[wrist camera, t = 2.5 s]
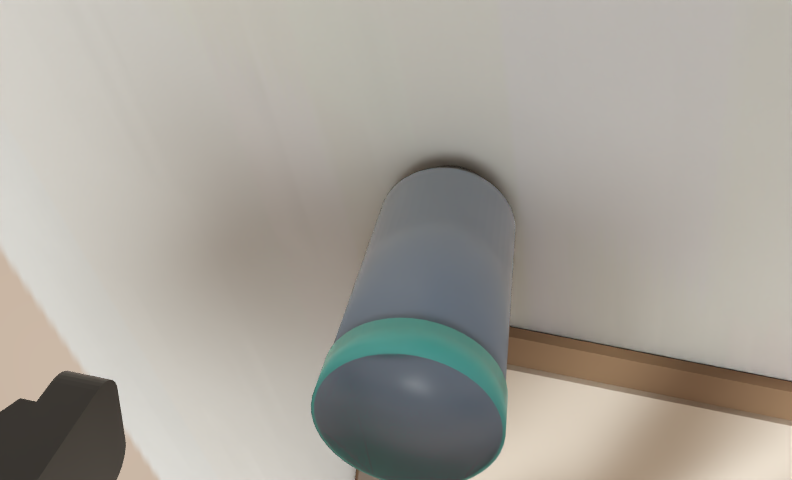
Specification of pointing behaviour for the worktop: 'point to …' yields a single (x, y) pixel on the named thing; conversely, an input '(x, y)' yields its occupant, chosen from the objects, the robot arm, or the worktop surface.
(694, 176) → the worktop surface
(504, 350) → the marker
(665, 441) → the clipboard
